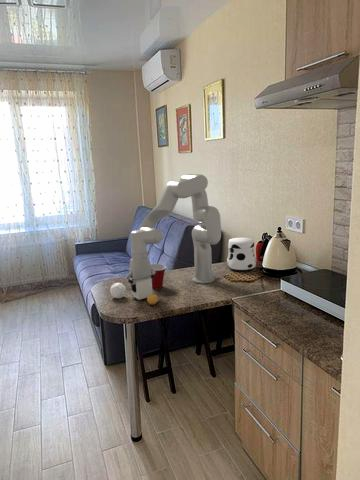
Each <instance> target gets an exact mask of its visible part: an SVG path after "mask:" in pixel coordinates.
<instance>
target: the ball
mask: <svg viewBox="0 0 360 480" xmlns="http://www.w3.org/2000/svg"><path fill="white" fill-rule="evenodd" d="M146 299H147V303H148V304H149V305H152V306H153V305H156V304H157V302H158V300H159V298H158V296H157V295H156V294H154V293H153V294H150V295H149V296H148V297H147V298H146Z"/></svg>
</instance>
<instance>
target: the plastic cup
mask: <svg viewBox="0 0 360 480" xmlns="http://www.w3.org/2000/svg"><path fill="white" fill-rule="evenodd" d="M150 266H151V269H153V270H155V271H156V273H155V275H154V277H153V278H152V290H160V289H162V288H163V286H164V285H163V283H164V277H165V272H166V270H167V265H165V264H161V263H150ZM151 274H152V272H151Z"/></svg>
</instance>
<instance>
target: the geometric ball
mask: <svg viewBox="0 0 360 480" xmlns="http://www.w3.org/2000/svg"><path fill="white" fill-rule="evenodd" d="M109 291H110V295H111V296H112V297H113V298H115V299H118V300H119V299H122V298H123V297H124V296H125V294H126V286H125V285H124V284H123V283H121V282H116V283H113V284H112V285H111V286H110V290H109Z"/></svg>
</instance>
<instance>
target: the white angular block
mask: <svg viewBox="0 0 360 480" xmlns="http://www.w3.org/2000/svg"><path fill="white" fill-rule="evenodd" d="M129 279H130V280H131V279H132V278H131V277H130V278H129ZM135 285H136V292H133V291H132V289H131V288H130V291H131V296H132V297H134V298H136V299H137V300H142V299H147V298H148V296H149V295H150V294H154V293H153V288H152V279H150V278H148V277H146V278H141V279H137V280H136V281H135Z"/></svg>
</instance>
